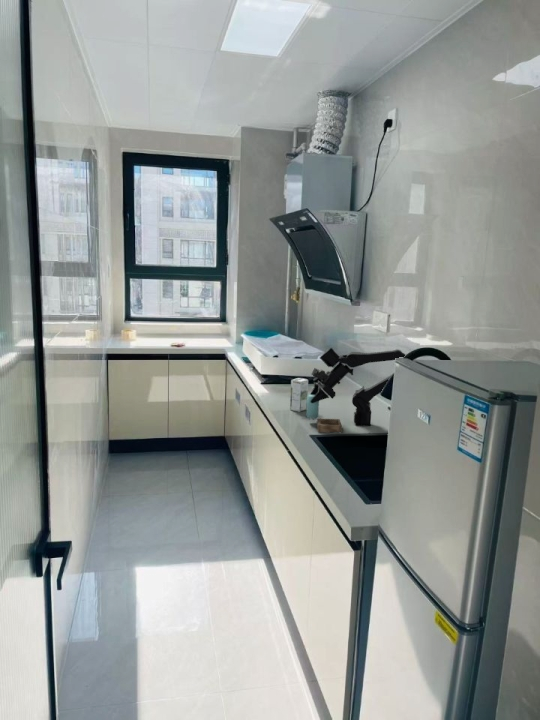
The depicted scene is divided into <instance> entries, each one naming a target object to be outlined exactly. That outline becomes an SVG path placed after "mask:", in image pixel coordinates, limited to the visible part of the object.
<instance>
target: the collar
mask: <svg viewBox="0 0 540 720" xmlns="http://www.w3.org/2000/svg"><path fill="white" fill-rule="evenodd" d="M342 426H343V425H342V423H341V419H340V418H316V428H318V429H317V432H318V433H330V432H341V433H342V428H343V427H342Z"/></svg>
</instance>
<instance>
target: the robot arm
mask: <svg viewBox="0 0 540 720" xmlns="http://www.w3.org/2000/svg"><path fill="white" fill-rule="evenodd" d="M405 355H406V354H405V353H404V352H403V351H402V350H400V349H399V348H398V349H395V350H385V351H377V352H376V351H375V352H374V351H373V352H361V351H350V352H349V353H348V354H342V355H339V353H337V351H336V350H335V349H334V348H333V347H330V348H329V349H328V350H326V351H325V352H324V353H323V354H321V356H319V359H320V360H321V361H322V362H323V363H324V364H325V365H326V367H328V368H331V370H330V371H329V370H328V371H325V370H323V369H318V368H316V367H314V369H313V370H312V372H311V375H312V377H314V378H313V379H312V380H313V389H312V390H311V392H310V394H309V395H315V396H314V397H313V398H312V400H311V401H310V402H311V403H315V402H317V401H319V402H320V401H323V400H325V399H326V400H327V399H329V398H331V399H334V398H335V397H336V391H335V390H334V388H335V386H337V385H339V384H341V381H342V380H343V378H345V377H347V375H348V374H349V375H350V376H353V375H354V368H357V367H359V366H360V367H361V366H363V365H366V364H370V363H381V362H388V361H396V360H395V358H399V357H404V356H405ZM393 374H394V373H392V374H390V375H389V376H387V377H386V378H383V380H381V381H379V382H377V383H376V384H374V385H372V386H370V387H368V388H365V386H362V387H360V388H359V389H356V390H355V392H354V393H353V394H352V399H351V402H352V405H353V406H354V407H355V411H354V412H353V422H354V424H355V426H363V427H364V426H366V427H371V426H372V424H371V420H372V409H371V408H372V407H371V405H372V404H371V403H372V402H370V401H372V399H373V398H375V397H376V396H378V395H379V394H381V393H382V392H381V391H382V389H383V387H384V385H385V384H386V382H387V381H388V379H389V378H390V377H391V376H392V375H393Z"/></svg>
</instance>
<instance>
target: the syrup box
mask: <svg viewBox="0 0 540 720" xmlns="http://www.w3.org/2000/svg"><path fill="white" fill-rule="evenodd" d="M308 391H309V379H307V378H303V377H297V378H294V379H291V380H290V400H289V401H290V403H289V404H290V405H289V410H290V411H294V412H299V413H300V412H303V411H304V412H305V411H307V395H309V393H308Z"/></svg>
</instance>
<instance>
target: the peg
mask: <svg viewBox="0 0 540 720" xmlns="http://www.w3.org/2000/svg"><path fill="white" fill-rule="evenodd" d="M314 396H315V395H310V394H308V395H307V410H306V417H307V418H309V419H319V414H320V413H319V409H320V401H317V402H315V403H311V402H310V401H311V400H312V398H313V397H314Z"/></svg>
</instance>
